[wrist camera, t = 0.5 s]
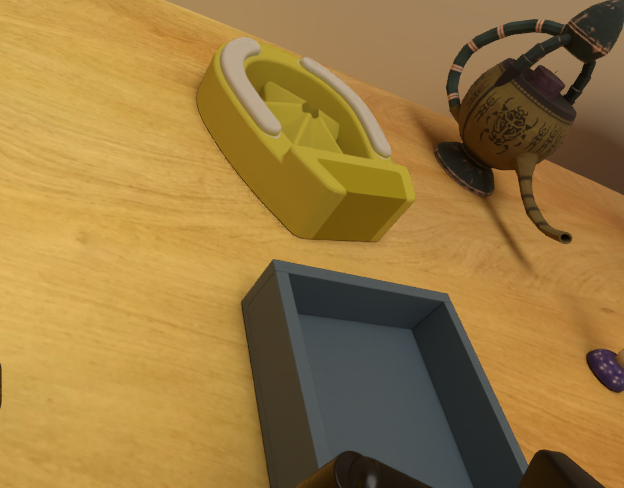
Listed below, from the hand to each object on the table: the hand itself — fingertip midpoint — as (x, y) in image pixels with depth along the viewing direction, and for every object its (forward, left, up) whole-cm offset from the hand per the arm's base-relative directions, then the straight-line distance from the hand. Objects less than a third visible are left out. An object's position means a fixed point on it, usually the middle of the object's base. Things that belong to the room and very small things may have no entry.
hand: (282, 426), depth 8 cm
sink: (+11, -12, -15) cm, 22 cm away
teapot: (+48, -28, -15) cm, 58 cm away
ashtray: (+35, -4, -15) cm, 38 cm away
